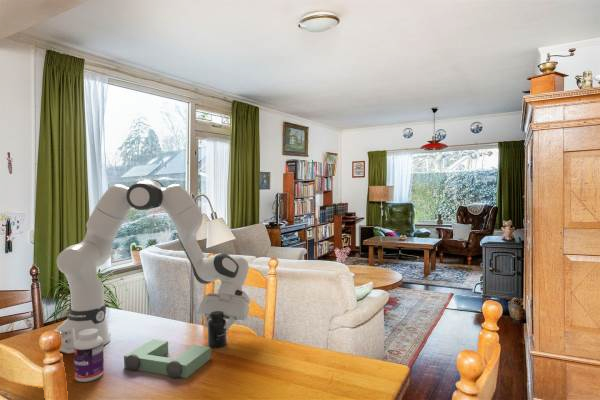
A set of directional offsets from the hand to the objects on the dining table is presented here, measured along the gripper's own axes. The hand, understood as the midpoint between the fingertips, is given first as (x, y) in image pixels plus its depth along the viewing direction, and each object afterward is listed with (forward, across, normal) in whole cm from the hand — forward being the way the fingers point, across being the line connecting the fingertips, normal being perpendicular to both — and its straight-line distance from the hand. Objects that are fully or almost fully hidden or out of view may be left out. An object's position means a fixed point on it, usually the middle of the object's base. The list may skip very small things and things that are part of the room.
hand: (216, 328), depth 142 cm
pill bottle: (+28, -26, -18) cm, 42 cm away
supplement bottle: (+4, 0, +5) cm, 7 cm away
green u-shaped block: (+17, -8, -8) cm, 20 cm away
